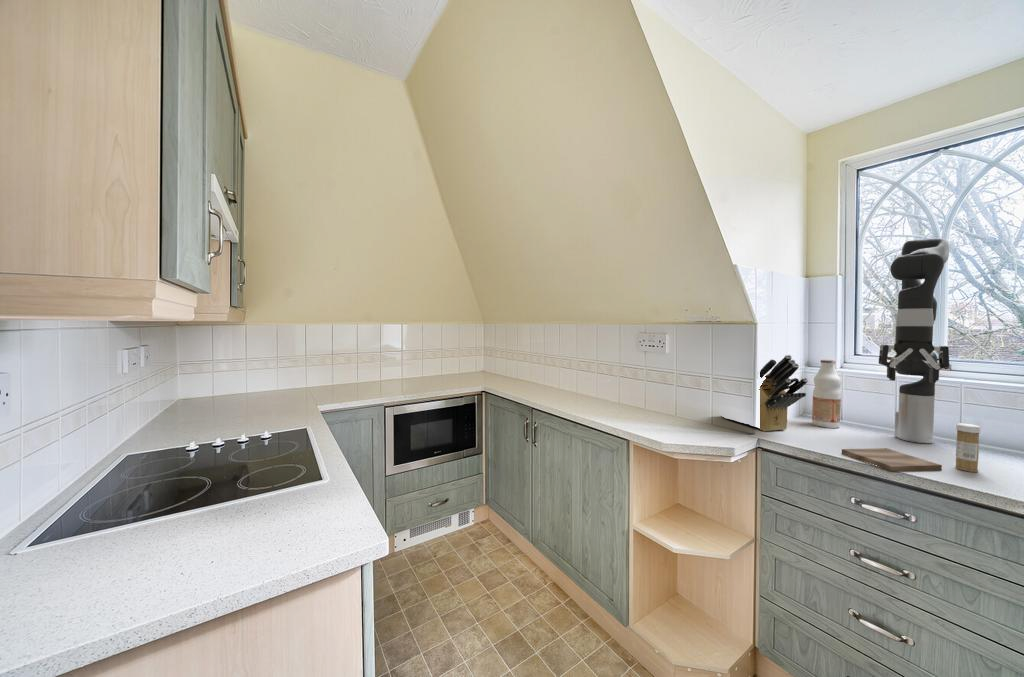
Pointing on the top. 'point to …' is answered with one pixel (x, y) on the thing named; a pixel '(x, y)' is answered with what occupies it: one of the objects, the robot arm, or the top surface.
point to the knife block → (778, 393)
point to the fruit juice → (827, 396)
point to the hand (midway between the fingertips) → (911, 381)
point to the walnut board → (891, 459)
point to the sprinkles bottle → (967, 447)
